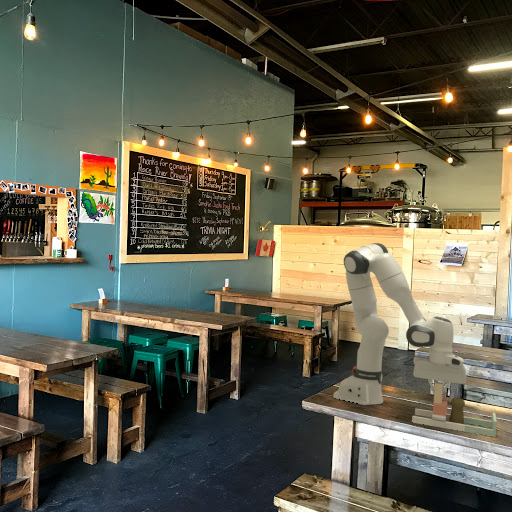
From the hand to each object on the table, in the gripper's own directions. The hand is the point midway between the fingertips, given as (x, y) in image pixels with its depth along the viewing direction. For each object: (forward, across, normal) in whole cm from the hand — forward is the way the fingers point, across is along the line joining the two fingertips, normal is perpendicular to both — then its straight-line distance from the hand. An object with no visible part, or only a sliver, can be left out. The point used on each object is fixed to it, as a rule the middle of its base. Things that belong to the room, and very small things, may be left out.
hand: (438, 391), depth 203 cm
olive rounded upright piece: (+13, +8, 0) cm, 15 cm away
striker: (+12, +1, 0) cm, 12 cm away
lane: (+13, +6, 0) cm, 14 cm away
